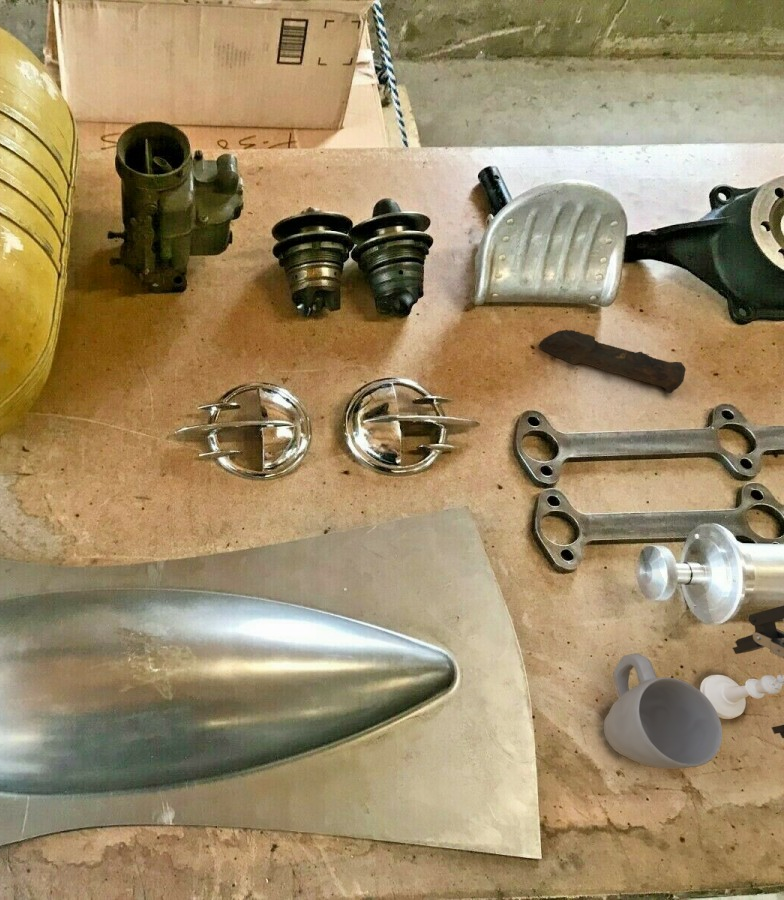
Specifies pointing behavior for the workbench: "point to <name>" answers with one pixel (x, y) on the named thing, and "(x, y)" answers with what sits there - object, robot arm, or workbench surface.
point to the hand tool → (614, 359)
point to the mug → (661, 719)
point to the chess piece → (737, 692)
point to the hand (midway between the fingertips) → (759, 688)
